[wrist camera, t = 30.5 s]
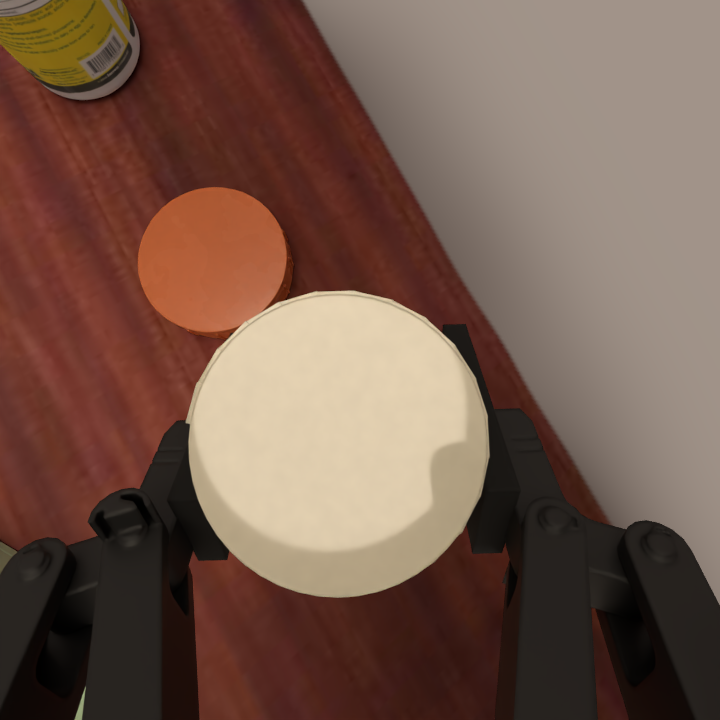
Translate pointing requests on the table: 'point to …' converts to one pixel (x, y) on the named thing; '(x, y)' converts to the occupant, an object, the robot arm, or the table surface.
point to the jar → (338, 443)
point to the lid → (214, 261)
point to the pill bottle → (72, 43)
